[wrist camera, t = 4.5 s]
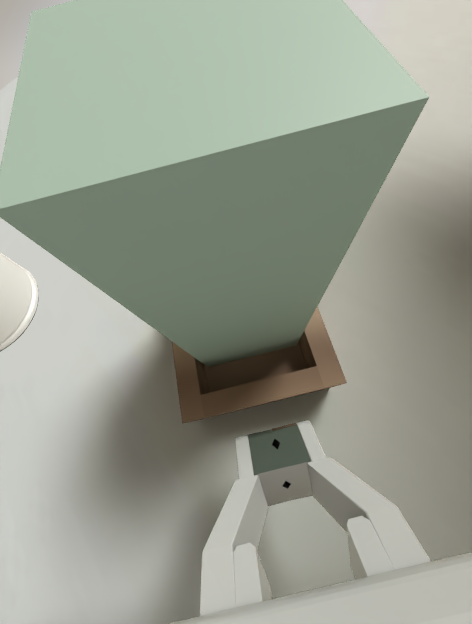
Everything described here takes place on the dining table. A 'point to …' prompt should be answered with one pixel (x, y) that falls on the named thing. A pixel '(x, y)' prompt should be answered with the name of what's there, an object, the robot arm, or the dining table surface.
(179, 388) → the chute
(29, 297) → the spray can
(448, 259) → the dining table surface
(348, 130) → the block
